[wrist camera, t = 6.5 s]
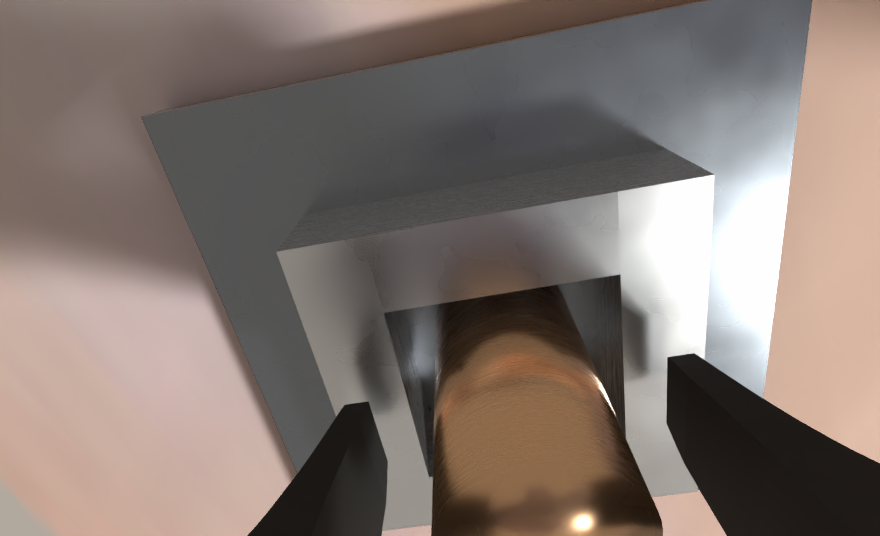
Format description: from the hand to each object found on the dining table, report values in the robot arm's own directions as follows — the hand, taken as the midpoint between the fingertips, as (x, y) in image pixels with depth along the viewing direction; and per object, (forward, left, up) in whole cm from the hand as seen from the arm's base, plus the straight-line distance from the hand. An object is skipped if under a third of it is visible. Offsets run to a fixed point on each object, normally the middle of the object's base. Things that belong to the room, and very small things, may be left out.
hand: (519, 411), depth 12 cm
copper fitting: (0, 0, -3) cm, 3 cm away
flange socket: (0, 0, -4) cm, 4 cm away
